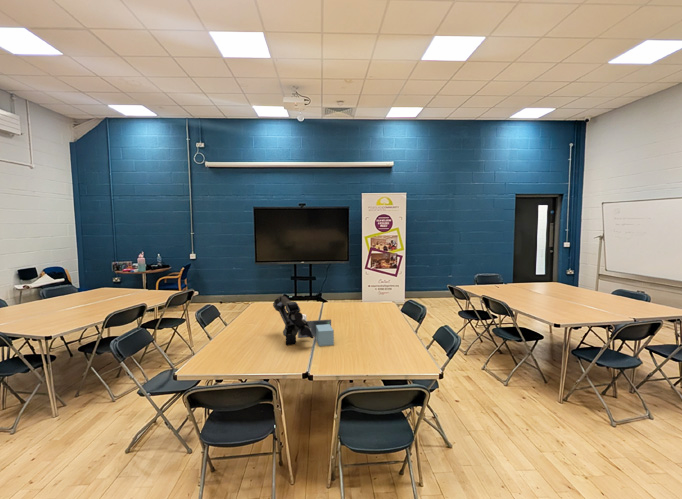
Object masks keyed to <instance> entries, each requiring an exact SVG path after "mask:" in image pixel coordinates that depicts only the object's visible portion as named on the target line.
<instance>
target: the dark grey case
mask: <svg viewBox="0 0 682 499" xmlns="http://www.w3.org/2000/svg"><path fill="white" fill-rule="evenodd" d="M306 322H307V324H308V326H309V328H310V330H311V333H312V335H313V338H316V325H325V324H330V325H331V326H332V319H331V318H329V319H317V320H307V321H306ZM306 322H305V323H306ZM297 338H299V339H300V338H310V337H309V336H307V335H304V336H302V335H301V334H300V331H299V330H298V333H297Z"/></svg>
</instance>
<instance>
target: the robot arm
mask: <svg viewBox="0 0 682 499" xmlns="http://www.w3.org/2000/svg"><path fill="white" fill-rule="evenodd" d="M272 306H273V308H274V309H275V311H276V312H278V313H279V315H280V317H281V319H282V321H283V323H284V329H283V331H282V334H283V336H284V337H285V346H295V345H296V344H297V336H298V330H299V331H300V334H301V335H302V336H304V335H307V336H309V337H308V338H310V339H314V337H313V335H312V333H311V330H310V328H309V326H308V324H307V322H306V320H305V319H303V320H302V318H303V315H302V314H303V313H302V312H301V308H300V306H299V304H298V303H297V301H293V300H292V301H291V300H290V299H289V298H287V296H286V295H280V296H278V297H277V298H276V299H275V300H273V303H272ZM305 322H306V323H305Z"/></svg>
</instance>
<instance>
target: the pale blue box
mask: <svg viewBox="0 0 682 499" xmlns="http://www.w3.org/2000/svg"><path fill="white" fill-rule="evenodd" d="M334 332H335V331H334V329H333V327H332V324H331V325H330V324H325V325H316V337H315V340H316V342H317V345H318V347H326V346H327V347H328V346H334V344H335V342H334V341H335V337H334V336H335V334H334Z"/></svg>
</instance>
